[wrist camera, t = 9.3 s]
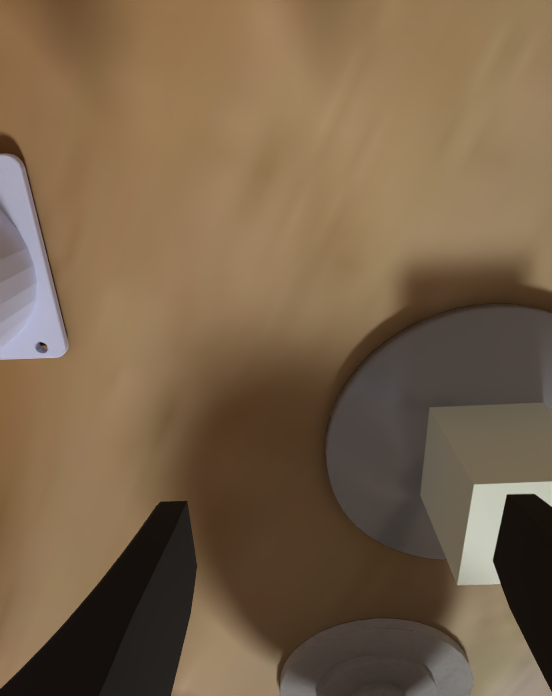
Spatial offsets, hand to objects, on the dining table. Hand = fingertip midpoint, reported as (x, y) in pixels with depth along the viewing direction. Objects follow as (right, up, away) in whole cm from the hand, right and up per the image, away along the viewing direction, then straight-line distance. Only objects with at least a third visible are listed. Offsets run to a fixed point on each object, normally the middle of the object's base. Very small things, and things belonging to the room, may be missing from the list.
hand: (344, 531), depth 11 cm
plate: (+8, 0, +12) cm, 14 cm away
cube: (+8, -1, +11) cm, 13 cm away
